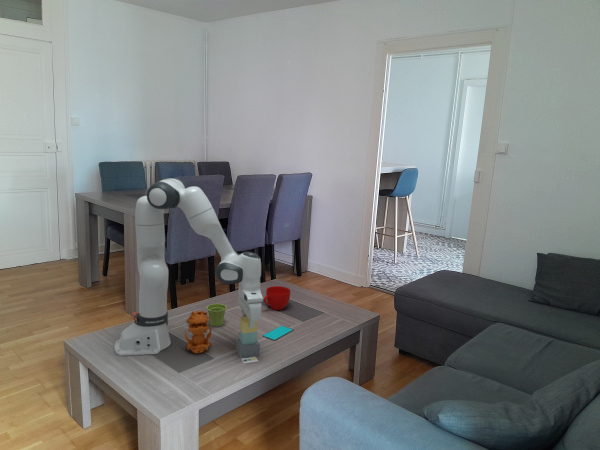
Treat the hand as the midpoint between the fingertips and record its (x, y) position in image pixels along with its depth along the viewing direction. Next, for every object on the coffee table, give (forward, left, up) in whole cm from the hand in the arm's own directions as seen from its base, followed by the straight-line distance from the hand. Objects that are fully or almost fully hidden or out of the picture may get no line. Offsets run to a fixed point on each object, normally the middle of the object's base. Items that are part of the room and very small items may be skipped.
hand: (247, 323), depth 183 cm
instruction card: (-1, -7, -13) cm, 15 cm away
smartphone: (+19, +14, -14) cm, 27 cm away
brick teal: (0, 0, -8) cm, 8 cm away
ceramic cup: (+28, +43, -13) cm, 53 cm away
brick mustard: (0, 0, -3) cm, 3 cm away
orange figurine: (-19, +8, -13) cm, 24 cm away
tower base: (0, 0, -13) cm, 13 cm away
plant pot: (-6, +32, -13) cm, 35 cm away
